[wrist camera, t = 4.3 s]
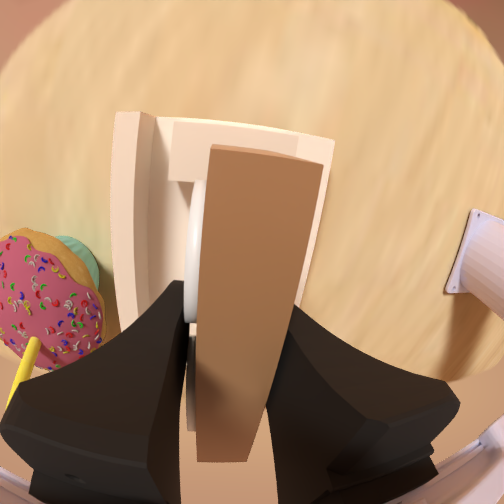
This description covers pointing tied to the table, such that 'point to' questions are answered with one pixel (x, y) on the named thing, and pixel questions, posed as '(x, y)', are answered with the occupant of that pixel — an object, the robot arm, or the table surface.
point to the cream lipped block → (178, 195)
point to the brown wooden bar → (242, 288)
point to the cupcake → (48, 301)
